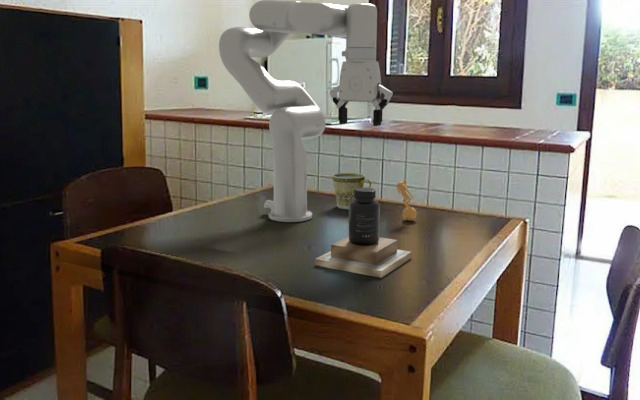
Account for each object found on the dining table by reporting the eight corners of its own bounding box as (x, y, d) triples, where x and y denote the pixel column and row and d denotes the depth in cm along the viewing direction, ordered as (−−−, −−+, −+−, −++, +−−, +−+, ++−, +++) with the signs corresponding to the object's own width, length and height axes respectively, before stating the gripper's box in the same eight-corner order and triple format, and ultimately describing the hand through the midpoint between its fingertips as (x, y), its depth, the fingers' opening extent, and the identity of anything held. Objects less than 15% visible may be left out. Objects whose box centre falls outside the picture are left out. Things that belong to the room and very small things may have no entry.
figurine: (422, 223, 175) (424, 181, 173) (403, 225, 173) (405, 182, 171) (408, 216, 183) (409, 176, 180) (389, 218, 181) (391, 177, 178)
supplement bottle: (346, 237, 143) (347, 186, 141) (376, 237, 144) (377, 186, 141) (350, 246, 137) (351, 192, 134) (381, 246, 137) (383, 192, 135)
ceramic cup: (325, 207, 194) (325, 175, 192) (343, 202, 202) (343, 171, 200) (361, 213, 187) (362, 180, 185) (378, 207, 195) (379, 175, 193)
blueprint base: (315, 265, 138) (315, 245, 137) (349, 247, 152) (349, 229, 151) (381, 277, 130) (381, 257, 129) (411, 258, 144) (412, 239, 143)
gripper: (323, 55, 158) (323, 124, 161) (386, 55, 149) (384, 127, 153) (338, 56, 164) (337, 121, 168) (399, 55, 155) (397, 125, 159)
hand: (359, 124), depth 160 cm, fingers open, 9 cm apart
